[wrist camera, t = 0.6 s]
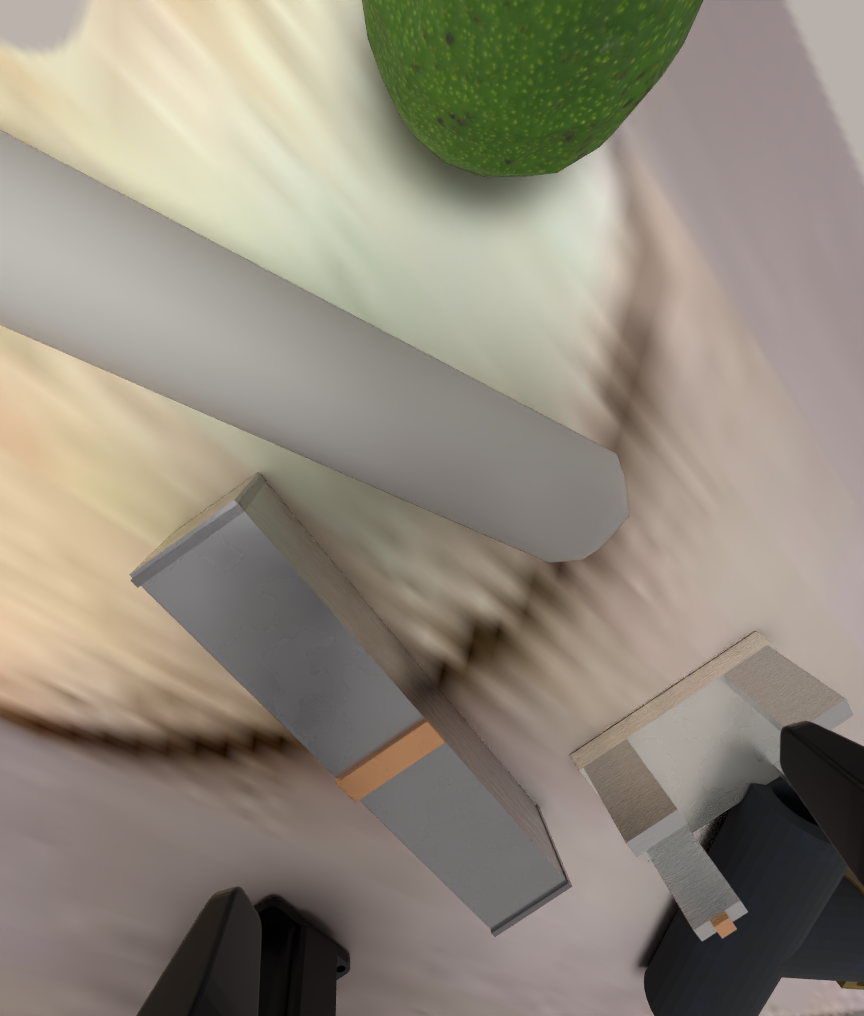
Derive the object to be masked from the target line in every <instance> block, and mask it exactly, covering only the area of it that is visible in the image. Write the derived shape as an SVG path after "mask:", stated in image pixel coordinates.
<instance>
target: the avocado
mask: <svg viewBox="0 0 864 1016" xmlns="http://www.w3.org/2000/svg"><path fill="white" fill-rule="evenodd" d="M702 2H703V0H362V3H363V10H364V16H365V23H366V29H367V36H368V40H369V43H370V46H371V49H372V51H373V54H374V57H375V60H376V62H377V65H378V68H379V71H380V74H381V76H382V79H383V81H384V83H385V85H386V87H387V90H388V92H389V94H390V96H391V98H392V100H393V102H394V104H395V106H396V108H397V110H398V112H399V114H400V116H401V118H402V119H403V121H404V123H405V125H406V126H407V128H408V129H409V130H410V131H411V132H412V134H413V135H414V136H415V137H416V138H417V139H418V140H419V141H420V142H422V143H423V144H424V145H425V146H426V147H427V148H429V149H430V150H431V151H432V152H433V153H434V154H436V155H437V156H438V157H439V158H440V159H441V160H443V161H444V162H445V163H448V164H451V165H454V166H456V167H459V168H462V169H465V170H467V171H470V172H473V173H476V174H478V175H481V176H532V175H542V174H551V173H557V172H559V171H561V170H562V169H564V168H566V167H567V166H569V165H571V164H572V163H574V162H576V161H577V160H579V159H581V158H582V157H584V156H585V155H587V154H589V153H590V152H592V151H594V150H595V149H597V148H599V147H600V146H601V145H602V144H603V143H604V142H605V141H606V140H607V139H608V138H609V137H610V136H611V135H612V134H613V133H614V132H615V131H616V130H617V128H618V127H619V126H620V125H621V124H622V122H623V121H624V120H625V119H626V118H627V117H628V115H629V114H630V113H631V112H632V111H633V110H634V108H635V107H636V106H637V105H638V104H639V103H640V101H641V100H642V99H643V98H644V97H645V95H646V94H647V93H648V92H649V91H650V90H651V89H652V87H653V86H654V85H655V84H656V83H657V81H658V80H659V79H660V78H661V77H662V75H663V74H664V72H665V71H666V69H667V68H668V66H669V65H670V63H671V62H672V61H673V59H674V58H675V56H676V55H677V53H678V52H679V50H680V49H681V47H682V46H683V44H684V42H685V40H686V38H687V35H688V33H689V31H690V29H691V26H692V24H693V22H694V20H695V18H696V15H697V13H698V11H699V9H700V6H701V4H702Z"/></svg>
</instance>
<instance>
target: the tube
mask: <svg viewBox="0 0 864 1016" xmlns="http://www.w3.org/2000/svg"><path fill="white" fill-rule="evenodd" d="M0 325H2V326H4V327H6V328H9V329H11V330H13V331H16V332H18V333H20V334H22V335H25V336H27V337H29V338H32V339H34V340H36V341H39V342H41V343H43V344H46V345H48V346H50V347H52V348H55V349H57V350H59V351H62V352H64V353H66V354H69V355H71V356H73V357H76V358H78V359H80V360H82V361H85V362H87V363H89V364H92V365H94V366H96V367H99V368H101V369H103V370H106V371H108V372H110V373H112V374H115V375H117V376H119V377H122V378H124V379H126V380H129V381H131V382H133V383H136V384H138V385H140V386H142V387H145V388H147V389H149V390H152V391H154V392H156V393H159V394H161V395H163V396H166V397H168V398H170V399H172V400H175V401H177V402H179V403H182V404H184V405H186V406H189V407H191V408H193V409H196V410H198V411H200V412H202V413H205V414H207V415H209V416H212V417H214V418H216V419H219V420H221V421H223V422H226V423H228V424H230V425H232V426H235V427H237V428H239V429H242V430H244V431H246V432H249V433H251V434H253V435H256V436H258V437H260V438H262V439H265V440H267V441H269V442H272V443H274V444H276V445H279V446H281V447H283V448H286V449H288V450H290V451H292V452H295V453H297V454H299V455H302V456H304V457H306V458H309V459H311V460H313V461H316V462H318V463H320V464H322V465H325V466H327V467H329V468H332V469H334V470H336V471H339V472H341V473H343V474H346V475H348V476H350V477H352V478H355V479H357V480H359V481H362V482H364V483H366V484H369V485H371V486H373V487H376V488H378V489H380V490H382V491H385V492H387V493H389V494H392V495H394V496H396V497H399V498H401V499H403V500H406V501H408V502H410V503H412V504H415V505H417V506H419V507H422V508H424V509H426V510H429V511H431V512H433V513H436V514H438V515H440V516H442V517H445V518H447V519H449V520H452V521H454V522H456V523H459V524H461V525H463V526H466V527H468V528H470V529H472V530H475V531H477V532H479V533H482V534H484V535H486V536H489V537H491V538H493V539H496V540H498V541H500V542H502V543H505V544H507V545H509V546H512V547H514V548H516V549H519V550H521V551H523V552H526V553H528V554H530V555H532V556H535V557H537V558H539V559H542V560H544V561H546V562H549V563H550V562H563V561H576V560H583V559H585V558H586V557H588V556H589V555H591V554H592V553H593V552H595V551H596V550H598V549H599V548H601V547H602V546H603V545H604V544H605V542H606V541H607V540H608V539H609V538H610V537H611V536H612V535H613V534H614V532H615V531H616V530H617V529H618V528H619V527H620V526H621V525H622V524H623V522H624V521H625V520H626V519H627V518H628V517H629V509H628V500H627V491H626V482H625V477H624V474H623V471H622V468H621V465H620V462H619V460H618V457H617V454H616V453H614V452H612V451H610V450H608V449H607V448H605V447H603V446H601V445H599V444H597V443H595V442H593V441H591V440H589V439H587V438H586V437H584V436H582V435H580V434H578V433H576V432H574V431H572V430H570V429H568V428H567V427H565V426H563V425H561V424H559V423H557V422H555V421H553V420H551V419H549V418H548V417H546V416H544V415H542V414H540V413H538V412H536V411H534V410H532V409H530V408H528V407H527V406H525V405H523V404H521V403H519V402H517V401H515V400H513V399H511V398H509V397H508V396H506V395H504V394H502V393H500V392H498V391H496V390H494V389H492V388H490V387H489V386H487V385H485V384H483V383H481V382H479V381H477V380H475V379H473V378H471V377H469V376H468V375H466V374H464V373H462V372H460V371H458V370H456V369H454V368H452V367H450V366H449V365H447V364H445V363H443V362H441V361H439V360H437V359H435V358H433V357H431V356H430V355H428V354H426V353H424V352H422V351H420V350H418V349H416V348H414V347H412V346H410V345H409V344H407V343H405V342H403V341H401V340H399V339H397V338H395V337H393V336H391V335H390V334H388V333H386V332H384V331H382V330H380V329H378V328H376V327H374V326H372V325H371V324H369V323H367V322H365V321H363V320H361V319H359V318H357V317H355V316H353V315H351V314H350V313H348V312H346V311H344V310H342V309H340V308H338V307H336V306H334V305H332V304H331V303H329V302H327V301H325V300H323V299H321V298H319V297H317V296H315V295H313V294H312V293H310V292H308V291H306V290H304V289H302V288H300V287H298V286H296V285H294V284H292V283H291V282H289V281H287V280H285V279H283V278H281V277H279V276H277V275H275V274H273V273H272V272H270V271H268V270H266V269H264V268H262V267H260V266H258V265H256V264H254V263H253V262H251V261H249V260H247V259H245V258H243V257H241V256H239V255H237V254H235V253H233V252H232V251H230V250H228V249H226V248H224V247H222V246H220V245H218V244H216V243H214V242H213V241H211V240H209V239H207V238H205V237H203V236H201V235H199V234H197V233H195V232H194V231H192V230H190V229H188V228H186V227H184V226H182V225H180V224H178V223H176V222H174V221H173V220H171V219H169V218H167V217H165V216H163V215H161V214H159V213H157V212H155V211H154V210H152V209H150V208H148V207H146V206H144V205H142V204H140V203H138V202H136V201H135V200H133V199H131V198H129V197H127V196H125V195H123V194H121V193H119V192H117V191H115V190H114V189H112V188H110V187H108V186H106V185H104V184H102V183H100V182H98V181H96V180H95V179H93V178H91V177H89V176H87V175H85V174H83V173H81V172H79V171H77V170H76V169H74V168H72V167H70V166H68V165H66V164H64V163H62V162H60V161H58V160H56V159H55V158H53V157H51V156H49V155H47V154H45V153H43V152H41V151H39V150H37V149H36V148H34V147H32V146H30V145H28V144H26V143H24V142H22V141H20V140H18V139H17V138H15V137H13V136H11V135H9V134H7V133H5V132H3V131H1V130H0Z"/></svg>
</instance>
